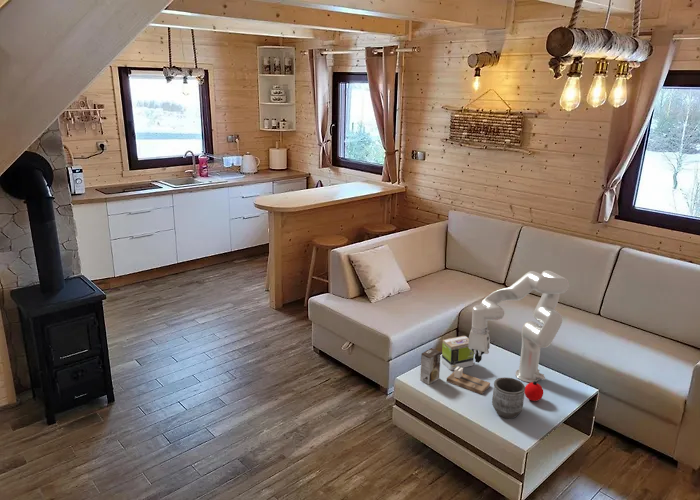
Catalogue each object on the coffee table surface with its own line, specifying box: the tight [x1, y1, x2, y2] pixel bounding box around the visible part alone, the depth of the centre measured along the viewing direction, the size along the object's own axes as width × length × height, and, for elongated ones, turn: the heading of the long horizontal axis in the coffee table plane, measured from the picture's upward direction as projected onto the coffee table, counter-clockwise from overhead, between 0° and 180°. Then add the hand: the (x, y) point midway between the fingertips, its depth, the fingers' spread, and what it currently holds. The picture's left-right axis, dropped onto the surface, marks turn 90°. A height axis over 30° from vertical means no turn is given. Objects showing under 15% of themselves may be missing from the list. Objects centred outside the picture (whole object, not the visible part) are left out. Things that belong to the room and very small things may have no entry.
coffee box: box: [419, 347, 442, 385], centre depth 276 cm, size 9×6×16 cm
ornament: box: [524, 381, 544, 402], centre depth 260 cm, size 9×9×10 cm
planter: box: [491, 377, 526, 419], centre depth 248 cm, size 14×14×15 cm
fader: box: [453, 366, 464, 378], centre depth 277 cm, size 3×4×5 cm
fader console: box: [446, 371, 491, 395], centre depth 274 cm, size 20×10×2 cm, turn 52°
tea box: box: [441, 335, 475, 371], centre depth 292 cm, size 15×10×15 cm
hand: (478, 361), depth 269 cm, fingers closed
